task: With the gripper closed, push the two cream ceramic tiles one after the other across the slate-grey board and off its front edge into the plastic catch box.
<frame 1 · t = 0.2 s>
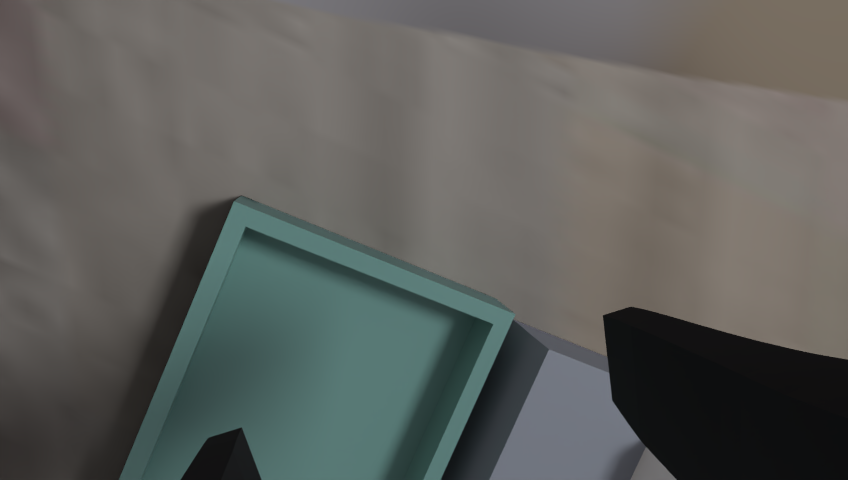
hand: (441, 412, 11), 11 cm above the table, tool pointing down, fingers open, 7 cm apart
catch box: (290, 447, 22), on the table
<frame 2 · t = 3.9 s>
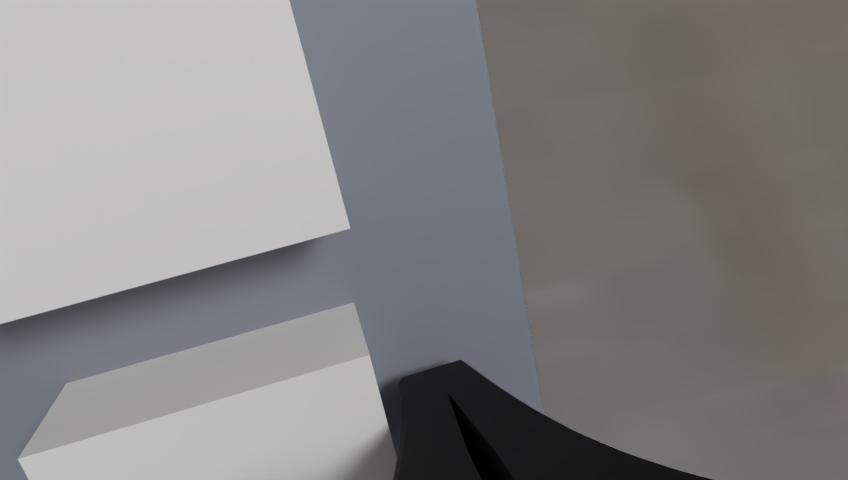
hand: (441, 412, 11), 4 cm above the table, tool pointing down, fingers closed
tile a: (256, 454, 11), point 3 cm above the table, touching board, gripper
board: (181, 242, 13), on the table
tile b: (132, 81, 9), point 3 cm above the table, touching board
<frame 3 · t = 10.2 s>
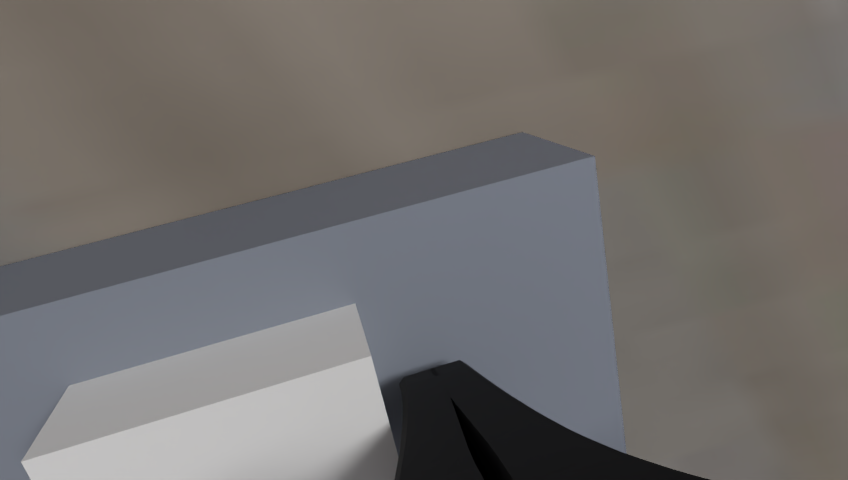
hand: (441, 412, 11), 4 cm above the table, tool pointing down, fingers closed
board: (338, 463, 16), on the table
tile b: (259, 455, 11), point 4 cm above the table, touching board, gripper
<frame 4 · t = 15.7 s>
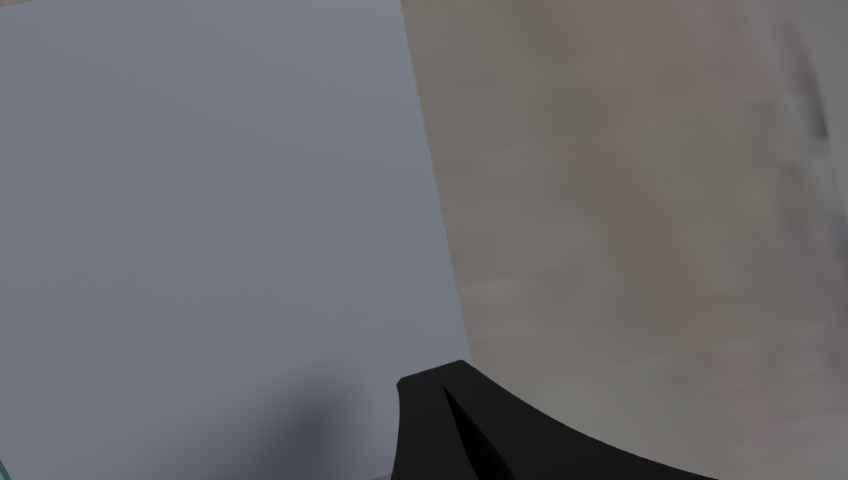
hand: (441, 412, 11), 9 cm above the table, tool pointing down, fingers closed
board: (223, 249, 19), on the table
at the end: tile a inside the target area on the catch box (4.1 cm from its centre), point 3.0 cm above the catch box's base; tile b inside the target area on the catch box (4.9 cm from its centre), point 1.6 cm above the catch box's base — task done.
